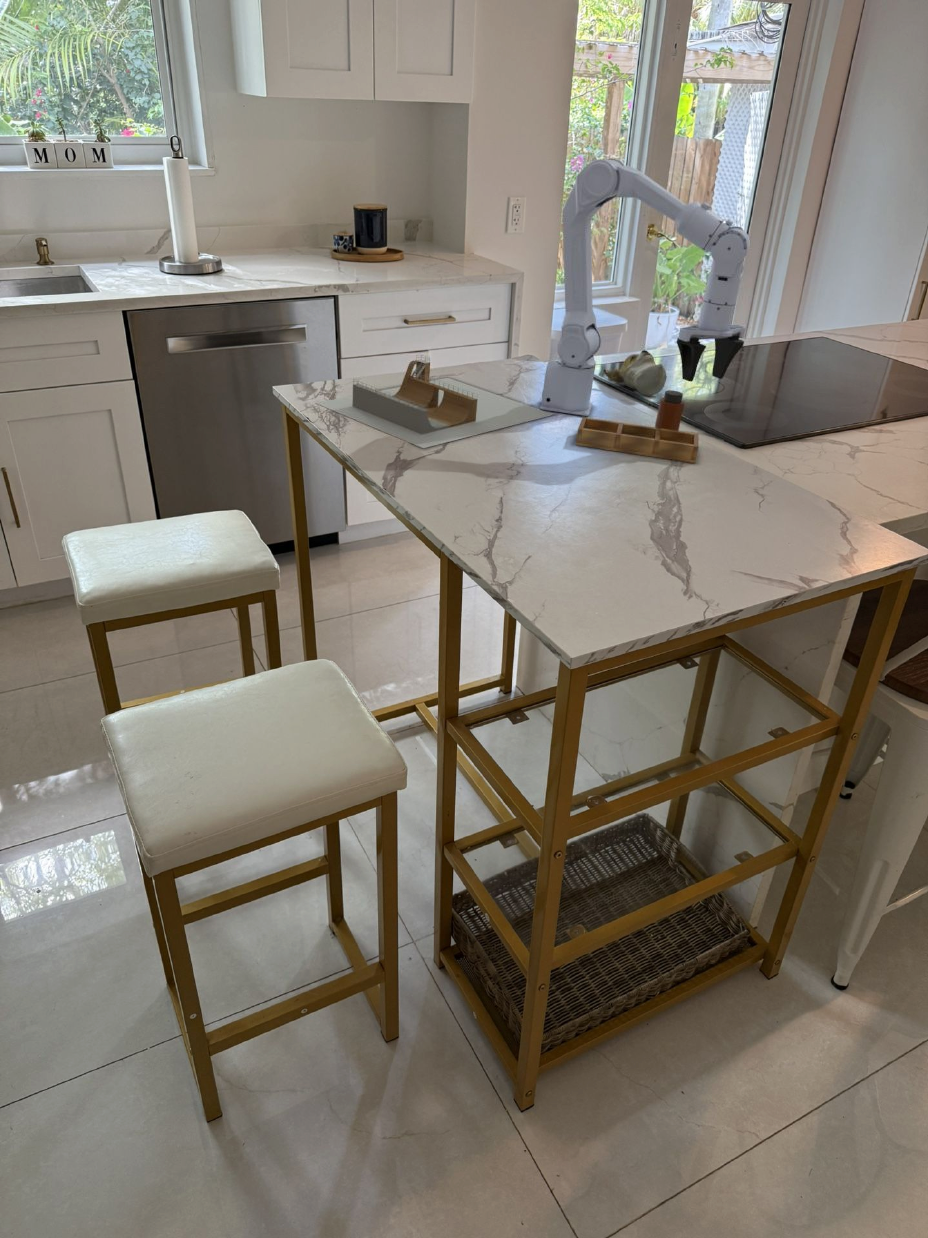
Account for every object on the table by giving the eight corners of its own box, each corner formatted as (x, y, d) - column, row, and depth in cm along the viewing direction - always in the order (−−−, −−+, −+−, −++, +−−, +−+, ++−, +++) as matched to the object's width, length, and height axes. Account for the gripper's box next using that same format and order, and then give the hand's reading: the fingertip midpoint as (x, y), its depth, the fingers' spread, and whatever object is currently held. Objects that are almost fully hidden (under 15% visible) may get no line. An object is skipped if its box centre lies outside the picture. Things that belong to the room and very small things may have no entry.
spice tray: (575, 444, 156) (577, 428, 154) (580, 432, 162) (582, 416, 161) (695, 463, 153) (698, 446, 151) (694, 449, 159) (698, 433, 157)
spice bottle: (653, 436, 164) (661, 394, 160) (654, 429, 167) (662, 387, 163) (677, 440, 163) (686, 397, 159) (677, 433, 167) (686, 391, 163)
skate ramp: (315, 402, 164) (315, 362, 161) (447, 377, 187) (450, 341, 183) (423, 448, 148) (426, 403, 144) (554, 414, 170) (559, 375, 167)
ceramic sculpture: (640, 356, 180) (604, 343, 192) (634, 399, 184) (598, 383, 196) (684, 356, 183) (645, 343, 196) (677, 398, 187) (639, 382, 200)
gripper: (705, 307, 150) (688, 387, 157) (764, 305, 157) (746, 381, 163) (677, 299, 155) (662, 376, 162) (735, 297, 162) (718, 371, 168)
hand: (702, 378), depth 163 cm, fingers open, 7 cm apart
